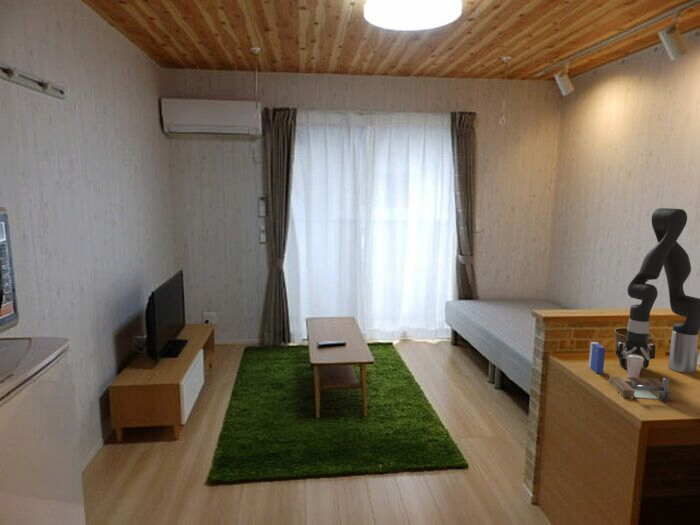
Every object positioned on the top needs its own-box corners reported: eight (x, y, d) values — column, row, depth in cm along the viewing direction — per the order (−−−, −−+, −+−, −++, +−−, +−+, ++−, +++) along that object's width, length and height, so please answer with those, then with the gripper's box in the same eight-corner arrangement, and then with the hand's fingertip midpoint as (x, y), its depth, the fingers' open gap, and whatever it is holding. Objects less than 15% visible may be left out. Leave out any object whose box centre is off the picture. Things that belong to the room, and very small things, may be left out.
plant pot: (615, 370, 201) (618, 336, 198) (608, 359, 215) (611, 326, 212) (654, 375, 196) (658, 339, 194) (644, 362, 210) (647, 329, 208)
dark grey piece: (664, 400, 173) (667, 377, 172) (667, 402, 171) (670, 380, 170) (629, 398, 175) (631, 376, 173) (631, 400, 173) (634, 378, 172)
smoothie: (625, 374, 197) (628, 343, 195) (642, 378, 193) (646, 346, 191) (622, 379, 192) (626, 347, 190) (640, 383, 188) (644, 351, 186)
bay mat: (647, 389, 182) (647, 388, 182) (658, 399, 174) (658, 398, 174) (624, 388, 184) (624, 387, 183) (634, 397, 175) (634, 397, 175)
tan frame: (655, 385, 186) (656, 378, 185) (673, 400, 173) (674, 392, 173) (608, 383, 188) (609, 376, 188) (622, 397, 176) (623, 390, 175)
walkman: (602, 373, 198) (605, 347, 196) (596, 373, 198) (598, 347, 196) (594, 366, 206) (596, 341, 204) (588, 366, 206) (590, 341, 204)
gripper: (651, 328, 192) (647, 364, 194) (615, 326, 194) (611, 362, 196) (661, 333, 184) (656, 371, 187) (623, 332, 186) (619, 369, 189)
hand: (633, 367), depth 192 cm, fingers open, 8 cm apart
